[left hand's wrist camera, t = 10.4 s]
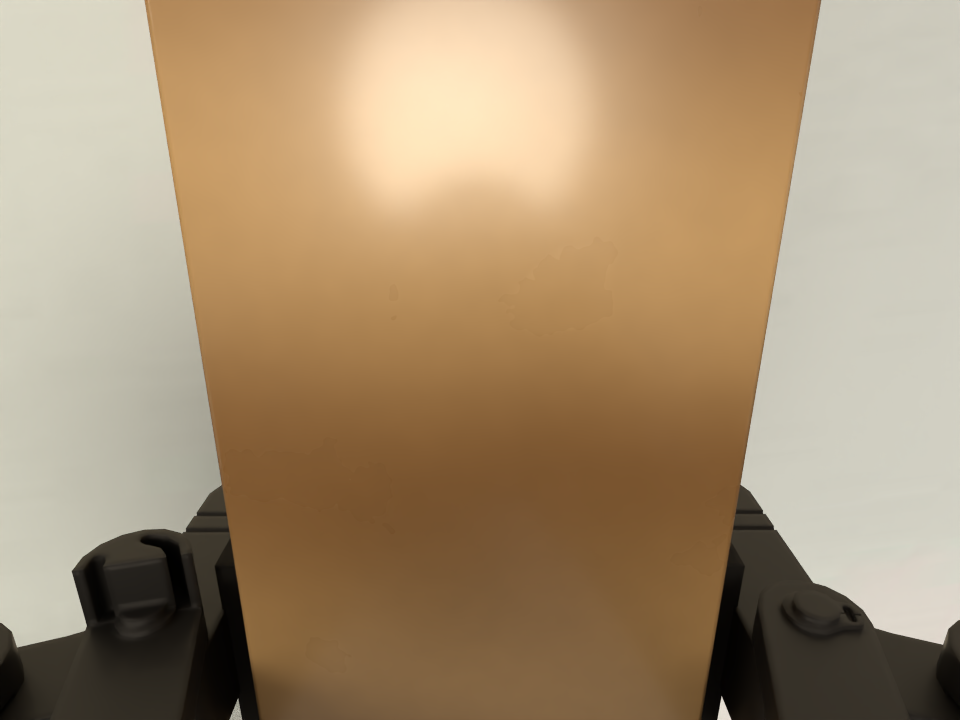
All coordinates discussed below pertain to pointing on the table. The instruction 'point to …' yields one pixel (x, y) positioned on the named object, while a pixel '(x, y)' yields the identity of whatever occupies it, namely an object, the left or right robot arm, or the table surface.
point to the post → (481, 334)
